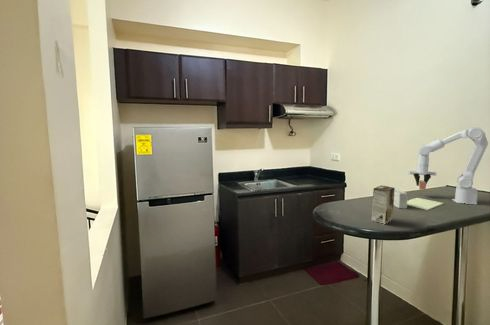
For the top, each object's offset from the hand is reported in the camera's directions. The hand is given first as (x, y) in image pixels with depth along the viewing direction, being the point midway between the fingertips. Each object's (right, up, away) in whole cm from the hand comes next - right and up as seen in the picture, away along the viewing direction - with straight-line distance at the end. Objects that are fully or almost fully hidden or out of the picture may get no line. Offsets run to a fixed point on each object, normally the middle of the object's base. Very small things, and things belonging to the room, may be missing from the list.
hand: (421, 186), depth 163 cm
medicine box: (-26, -10, -20) cm, 34 cm away
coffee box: (-48, -13, -42) cm, 64 cm away
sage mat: (-10, -9, -15) cm, 20 cm away
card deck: (0, -1, 0) cm, 1 cm away
